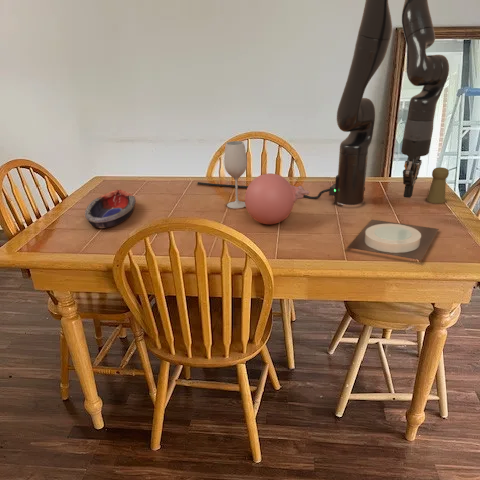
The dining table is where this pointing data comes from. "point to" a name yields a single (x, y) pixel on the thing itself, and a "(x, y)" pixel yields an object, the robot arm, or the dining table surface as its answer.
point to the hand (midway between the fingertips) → (407, 196)
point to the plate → (392, 238)
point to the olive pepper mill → (438, 185)
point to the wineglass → (235, 166)
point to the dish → (110, 209)
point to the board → (418, 253)
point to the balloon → (271, 198)
